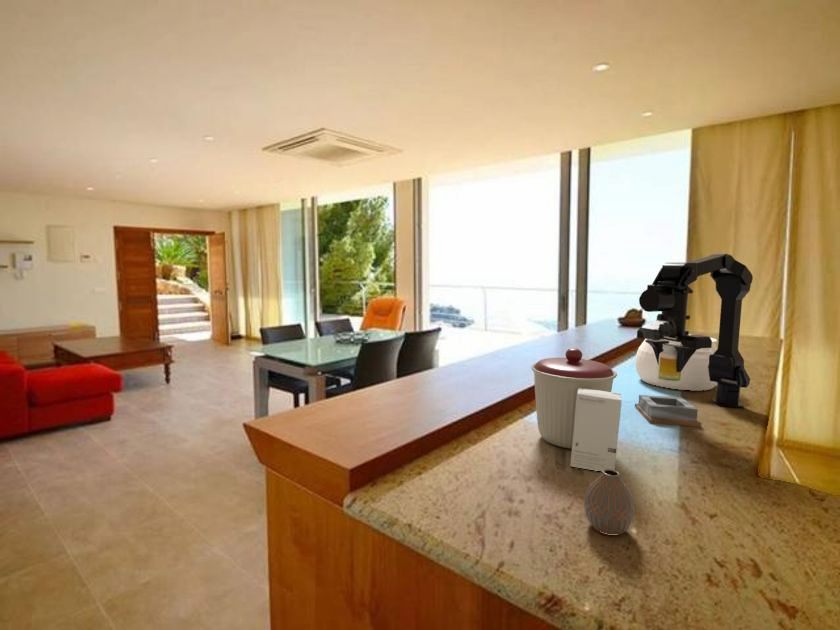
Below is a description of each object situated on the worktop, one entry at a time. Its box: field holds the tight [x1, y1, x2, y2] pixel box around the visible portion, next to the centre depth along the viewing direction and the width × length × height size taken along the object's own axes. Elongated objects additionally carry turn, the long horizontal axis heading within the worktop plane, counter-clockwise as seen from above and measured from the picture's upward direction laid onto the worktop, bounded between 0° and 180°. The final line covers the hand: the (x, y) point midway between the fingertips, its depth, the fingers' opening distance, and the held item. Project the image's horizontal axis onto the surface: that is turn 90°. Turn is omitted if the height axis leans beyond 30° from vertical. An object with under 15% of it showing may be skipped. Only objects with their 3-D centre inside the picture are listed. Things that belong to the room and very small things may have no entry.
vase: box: [583, 469, 635, 535], centre depth 69 cm, size 7×7×9 cm
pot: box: [634, 334, 718, 392], centre depth 161 cm, size 29×26×16 cm
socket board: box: [634, 394, 702, 428], centre depth 125 cm, size 14×12×4 cm
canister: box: [530, 347, 618, 450], centre depth 104 cm, size 18×18×21 cm
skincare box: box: [569, 388, 622, 471], centre depth 91 cm, size 8×6×15 cm
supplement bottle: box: [657, 344, 681, 383], centre depth 123 cm, size 5×5×10 cm
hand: (669, 369), depth 124 cm, fingers closed on supplement bottle, 5 cm apart
